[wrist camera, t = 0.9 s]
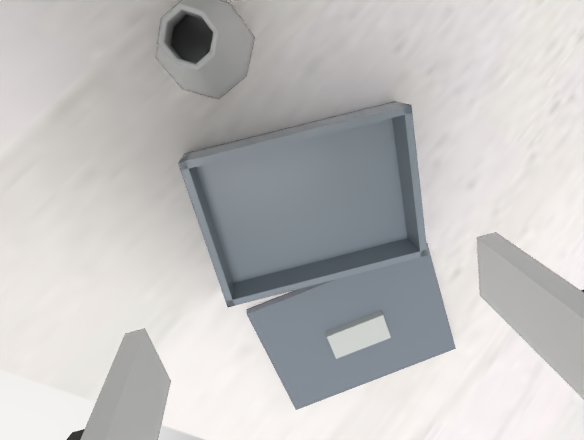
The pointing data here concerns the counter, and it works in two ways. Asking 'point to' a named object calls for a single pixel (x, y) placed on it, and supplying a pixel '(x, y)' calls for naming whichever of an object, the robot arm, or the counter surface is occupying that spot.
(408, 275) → the bin lid
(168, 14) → the flask
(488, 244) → the robot arm
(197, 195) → the bin
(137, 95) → the counter surface
